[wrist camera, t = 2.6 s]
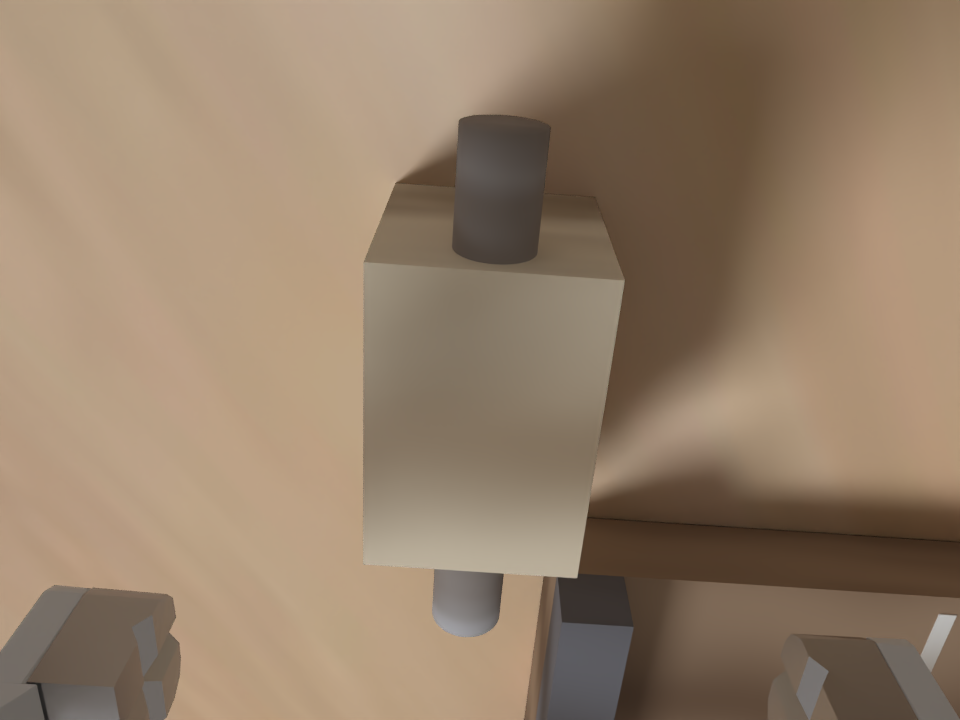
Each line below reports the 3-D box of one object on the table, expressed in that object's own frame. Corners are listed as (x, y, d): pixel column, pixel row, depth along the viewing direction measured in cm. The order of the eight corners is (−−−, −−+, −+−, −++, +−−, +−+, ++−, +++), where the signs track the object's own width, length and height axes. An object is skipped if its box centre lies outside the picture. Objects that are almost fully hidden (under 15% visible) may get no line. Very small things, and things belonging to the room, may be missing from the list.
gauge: (398, 78, 16) (363, 128, 12) (608, 93, 16) (645, 149, 12) (389, 501, 20) (363, 642, 16) (551, 512, 20) (564, 655, 16)
